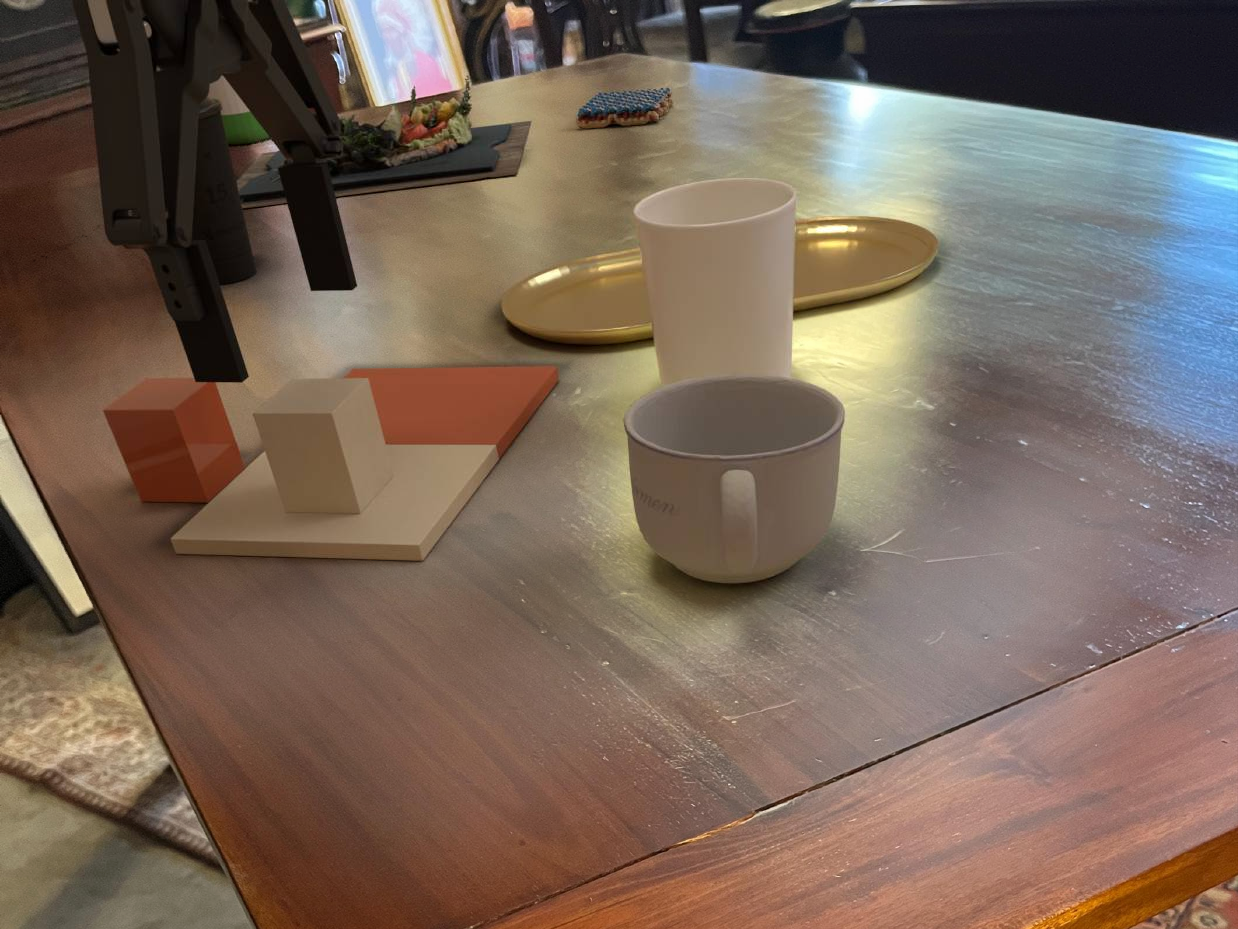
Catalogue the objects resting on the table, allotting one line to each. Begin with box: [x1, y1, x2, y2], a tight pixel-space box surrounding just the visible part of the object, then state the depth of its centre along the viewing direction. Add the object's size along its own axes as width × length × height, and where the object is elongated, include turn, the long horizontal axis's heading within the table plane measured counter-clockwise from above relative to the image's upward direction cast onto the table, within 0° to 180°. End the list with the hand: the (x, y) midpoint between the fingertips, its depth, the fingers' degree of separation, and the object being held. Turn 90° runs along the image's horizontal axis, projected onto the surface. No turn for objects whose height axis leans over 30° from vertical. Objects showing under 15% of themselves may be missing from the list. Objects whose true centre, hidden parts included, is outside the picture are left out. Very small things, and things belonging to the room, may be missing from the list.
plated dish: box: [236, 74, 532, 209], centre depth 140 cm, size 35×28×7 cm
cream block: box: [252, 377, 394, 514], centre depth 71 cm, size 5×5×6 cm
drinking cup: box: [159, 69, 257, 285], centre depth 107 cm, size 8×8×20 cm
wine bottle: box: [207, 76, 271, 146], centre depth 151 cm, size 8×8×30 cm
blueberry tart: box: [574, 87, 674, 129], centre depth 146 cm, size 10×11×2 cm
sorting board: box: [169, 365, 560, 562], centre depth 78 cm, size 16×26×1 cm, turn 166°
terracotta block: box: [102, 377, 246, 504], centre depth 77 cm, size 5×5×6 cm
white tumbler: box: [632, 177, 798, 387], centre depth 76 cm, size 10×10×12 cm
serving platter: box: [500, 215, 939, 346], centre depth 96 cm, size 19×35×2 cm, turn 103°
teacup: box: [622, 374, 846, 584], centre depth 61 cm, size 14×11×8 cm
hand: (282, 331), depth 67 cm, fingers open, 13 cm apart
